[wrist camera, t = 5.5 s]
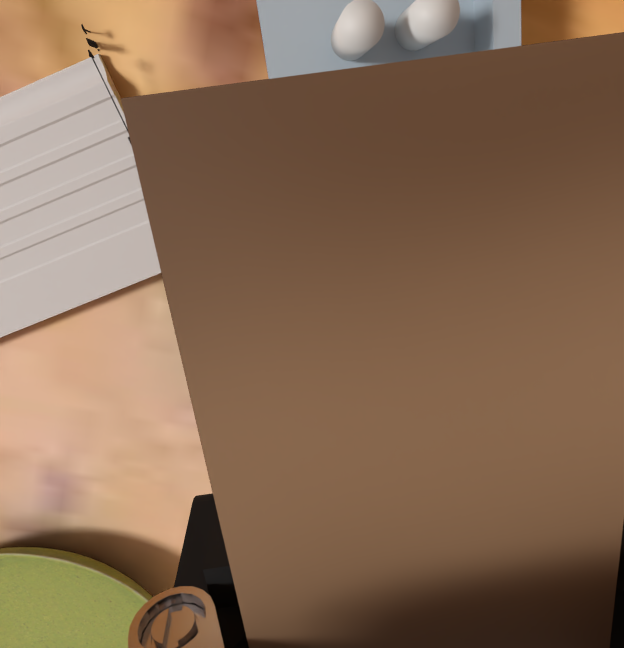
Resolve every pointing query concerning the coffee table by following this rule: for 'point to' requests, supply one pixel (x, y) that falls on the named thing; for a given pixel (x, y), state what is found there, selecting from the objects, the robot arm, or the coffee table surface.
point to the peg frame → (380, 31)
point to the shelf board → (405, 340)
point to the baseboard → (68, 197)
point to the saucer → (64, 600)
